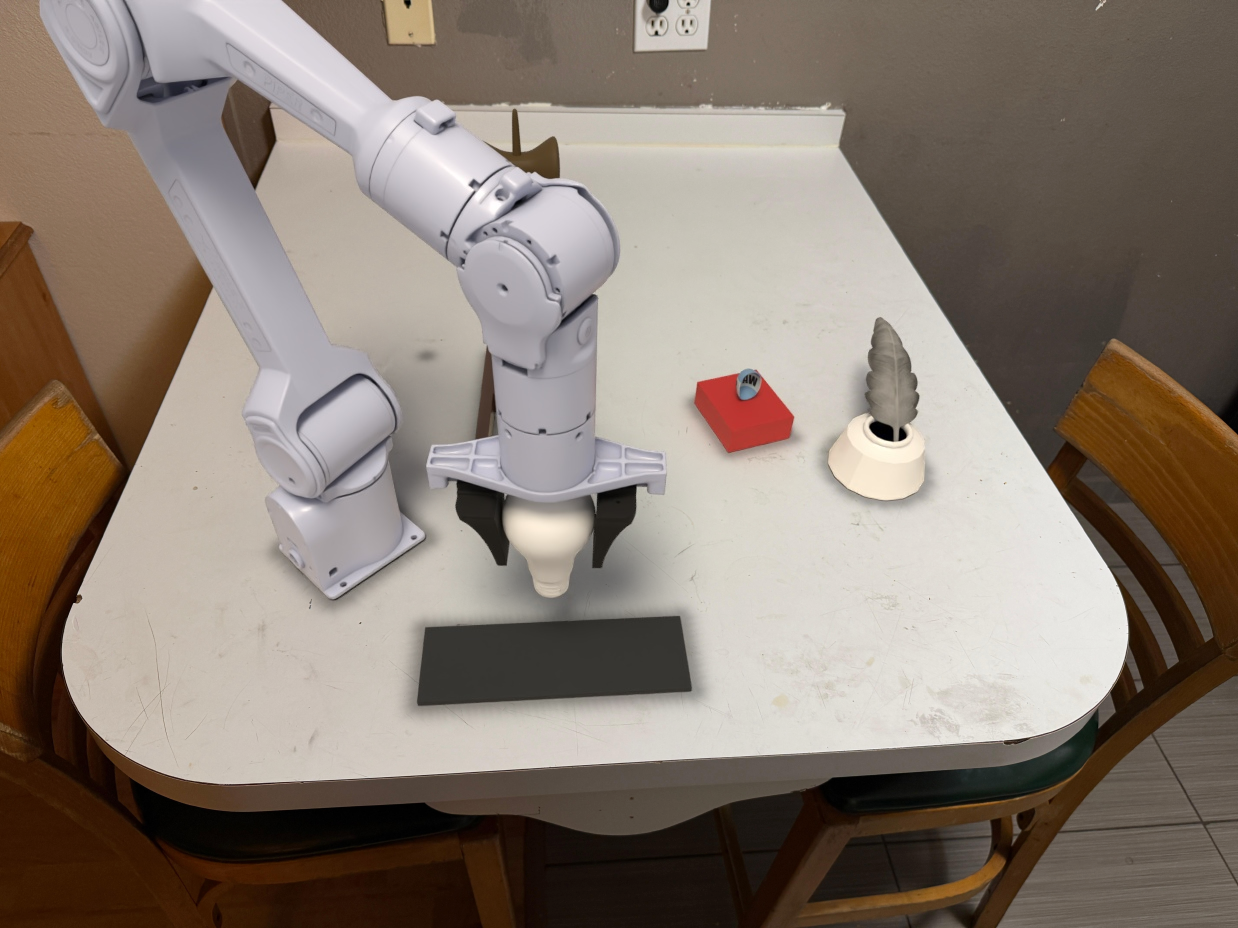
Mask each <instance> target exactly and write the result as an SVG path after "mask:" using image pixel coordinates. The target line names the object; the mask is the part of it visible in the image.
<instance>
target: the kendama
mask: <svg viewBox="0 0 1238 928" xmlns="http://www.w3.org/2000/svg"><path fill="white" fill-rule="evenodd" d="M481 140H482V141H483V142H485V143H486V144H487V145H489V146H490V147H491V148H493V149H494V150H495V151H496V152H498V153H499V154H500V155H502V156H503V157H504V158H505V159H507V160H508V161H509V162H511V163H512V164H513V165H514V166H516V167H519V168H520V169H521V170H523V171H524V172H525V173H527V172H530V173H531V174H532V173H534V172H536V173H537V174H539V175H540V176H542V177H543V178H546V179H555V178H561V159H560V158H561V157H560V149H559V143H558V140H557V138H556V136H553V135H552V136H550V137H548V138H547V139H545V140H544V141H542V142H541V143H540V144H538V145H537V146H536V147H534V148H532V149H530V150H527V151H522V146H521V132H520V120H519V113H518V109H517V108H513V109H512V111H511V149H512V151H506V150H503V149H500V148H498V147H496V146H494V145H493V144H490V143H489V142H487V141H485V140H483V139H481Z"/></svg>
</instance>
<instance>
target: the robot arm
mask: <svg viewBox="0 0 1238 928" xmlns="http://www.w3.org/2000/svg"><path fill="white" fill-rule="evenodd" d="M38 3H39V17H40V19H41V21H42V23H43V26H44V28H45V30H46V32H47V34H48V35H49V37H50V39H51V41H52V42H53V44H54V47H55V48H56V49H57V51H58V53H59V54H60V57H61V59H62V61H64V63H65V65H66V68H67V69H68V70H69V72H70V74H71V75H72V78H73V79H74V80H75V82H76V84H77V86H78V88H79V89H80V91H81V93H82V94H83V96H84V98H85V100H86V101H87V102H88V104H89V105H90V107H91V108H92V109H93V111H94V113H95V115H96V116H97V118H98V120H99V121H100V123H101V125H102V126H103V127H104V128H107V129H112V130H117V131H124V132H126V134H127V136H128V138H129V139H130V141H131V143H132V145H133V147H134V148H135V150H136V152H137V154H138V156H139V157H140V159H141V161H142V162H143V164H144V166H145V169H146V170H147V171H148V173H149V175H150V177H151V179H152V180H153V182H154V184H155V186H156V187H157V189H158V191H159V193H160V195H161V196H162V198H163V199H164V202H165V203H166V205H167V207H168V209H169V210H170V212H171V214H172V216H173V218H174V219H175V221H176V223H177V225H178V227H179V229H180V230H181V232H182V234H183V235H184V238H185V239H186V241H187V243H188V245H189V246H190V248H191V250H192V252H193V253H194V255H195V256H196V259H197V260H198V262H199V264H200V266H201V267H202V269H203V271H204V273H205V275H206V276H207V278H208V280H209V282H210V283H211V285H212V287H213V289H214V290H215V292H216V294H217V296H218V298H219V299H220V301H221V303H222V304H223V307H224V308H225V311H226V312H227V313H228V315H229V317H230V319H231V321H232V323H233V325H234V326H235V328H236V329H237V332H238V333H239V335H240V336H241V338H242V340H243V342H244V343H245V345H246V347H247V349H248V351H249V352H250V354H251V357H252V358H253V360H254V361H255V364H256V365H257V367H258V371H257V374H256V376H255V378H254V381H253V384H252V386H251V388H250V390H249V392H248V395H247V397H246V399H245V402H244V404H243V405H242V406H243V407H242V410H241V417H242V418H243V420H244V422H245V426H246V427H247V429H248V431H249V434H250V435H251V438H252V441H253V445H254V451H255V454H256V457H257V459H258V461H259V463H260V465H261V466H262V468H263V469H264V471H265V472H266V473H267V474H268V476H269V477H270V478H271V479H272V480H273V481H274V482H275V483H276V484H278V486H277V487H276V488H275V489H274V490H272V491H271V492H270V493H268V494H267V495H266V496H265V499H264V503H265V507H266V510H267V513H268V515H269V518H270V521H271V524H272V525H273V528H274V530H275V533H276V536H277V539H278V541H279V545H278V549H279V551H280V553H282V554H283V555H284V556H285V557H286V558H287V559H288V560H289V561H290V562H291V563H292V564H293V565H294V566H295V567H296V568H297V569H298V570H299V571H300V572H301V573H302V574H303V575H304V576H305V577H306V578H307V579H308V580H309V581H310V582H311V583H313V585H315V587H316V588H317V589H319V590H320V591H321V593H323V594H324V596H326V598H328V599H329V600H335V599H337V598H339V597H340V596H341V597H342V595H343V594H345V593H347V592H348V591H350V590H351V589H353V588H355V586H357V585H358V584H360V583H362V582H363V581H364V580H366V579H368V578H369V577H370V576H372V575H374V574H375V573H377V572H378V571H379V570H381V569H383V568H384V567H385V566H387V565H388V564H389V563H391V562H392V561H394V560H396V559H397V558H398V557H400V556H401V555H403V554H404V553H406V552H408V551H409V550H410V549H412V548H414V547H415V546H417V545H418V544H419V543H421V542H422V541H424V540H425V538H426V534H425V531H424V530H422V529H421V528H420V527H419V526H418V525H417V524H415V523H414V521H412V520H411V519H409V518H408V517H407V516H406V515H405V514H404V513H403V512H401V511H400V508H399V503H398V498H397V494H396V489H395V485H394V480H393V479H394V478H393V476H392V471H391V466H390V461H389V453H390V452H391V451H392V449H393V448H394V444H393V443H394V442H393V439H392V435H394V434H396V433H397V432H398V431H399V430H400V429H401V427H402V425H403V420H404V418H403V417H404V416H403V411H402V406H401V402H400V400H399V398H398V396H397V394H396V392H395V391H394V390H393V388H392V387H391V385H390V384H389V383H388V382H387V381H386V380H385V378H383V377H382V375H380V373H379V372H378V370H377V369H376V367H375V366H374V364H373V362H372V360H371V358H370V356H369V354H368V353H367V352H365V351H363V350H360V349H358V348H354V347H352V346H348V345H342V344H336V343H331V342H332V341H331V340H330V339H329V336H328V334H327V332H326V330H325V328H324V326H323V325H322V322H321V320H320V318H319V316H318V314H317V312H316V310H315V308H314V307H313V304H312V302H311V300H310V299H309V296H308V294H307V293H306V290H305V287H304V286H303V284H302V282H301V280H300V278H299V276H298V274H297V273H296V270H295V268H294V267H293V264H292V262H291V260H290V258H289V256H288V254H287V252H286V250H285V248H284V246H283V244H282V242H281V240H280V238H279V236H278V235H277V232H276V230H275V228H274V226H273V224H272V222H271V220H270V218H269V216H268V214H267V212H266V210H265V208H264V207H263V204H262V202H261V200H260V198H259V196H258V194H257V192H256V190H255V188H254V185H253V184H252V182H251V180H250V178H249V176H248V174H247V172H246V170H245V169H244V166H243V164H242V162H241V160H240V158H239V156H238V154H237V151H236V150H235V148H234V146H233V144H232V142H231V140H230V138H229V136H228V134H227V132H226V130H225V128H224V126H223V123H222V115H223V112H224V108H225V104H226V100H227V97H228V93H229V90H230V88H231V87H232V86H233V85H235V84H236V82H237V81H239V82H241V83H242V84H244V85H245V86H247V87H248V88H250V89H252V90H253V91H254V92H256V93H257V94H259V95H260V96H261V97H263V98H265V99H266V100H268V101H269V102H270V103H272V104H274V105H275V106H277V107H278V108H279V109H281V110H282V111H284V112H285V113H286V114H289V115H290V116H292V117H293V118H294V119H296V120H298V121H299V122H301V123H302V124H304V125H305V126H307V127H308V128H309V129H311V130H312V131H314V132H316V133H317V134H318V135H320V136H321V137H323V138H324V139H326V140H327V141H329V142H330V143H332V144H334V145H335V146H336V147H338V148H339V149H341V150H342V151H344V152H345V153H347V154H348V155H350V156H351V158H352V163H353V169H354V176H355V180H356V183H357V186H358V188H359V190H360V192H361V193H362V194H363V195H364V196H365V197H367V198H368V199H369V200H370V201H372V202H373V203H374V204H376V205H377V206H378V207H379V208H381V209H382V210H383V211H384V212H386V213H387V214H388V215H390V216H391V217H392V218H393V219H394V220H395V221H397V222H398V223H400V224H401V225H402V226H403V227H404V228H406V229H407V230H408V231H410V232H411V233H412V234H414V236H416V237H418V238H419V239H420V241H422V242H424V243H425V244H426V245H427V246H429V247H430V248H432V249H433V250H434V251H435V252H437V253H438V254H439V255H440V256H442V258H444V259H445V260H447V261H448V262H449V263H451V265H453V266H455V267H456V274H457V275H456V276H457V279H458V282H459V285H460V289H461V291H462V292H463V295H464V297H465V299H466V301H467V303H468V304H469V306H470V307H471V309H472V310H473V311H474V313H475V315H476V316H477V318H478V321H479V323H480V326H481V333H482V342H483V344H485V345H486V347H487V346H488V350H489V352H490V353H491V356H492V367H493V378H494V390H495V401H496V412H495V414H496V423H497V432H498V434H497V435H492V437H487V438H482V439H477V440H475V439H473V440H468V441H462V442H456V443H447V444H430V449H429V452H428V456H427V460H426V464H425V468H426V469H425V470H426V475H427V480H428V486H429V488H430V489H440V490H441V489H442V490H444V489H446V488H448V486H449V482H454V483H456V484H455V485H456V499H455V504H454V509H455V512H456V515H457V518H458V520H459V521H461V522H463V523H464V524H466V525H467V526H469V527H470V528H471V529H472V530H474V531H475V532H476V533H477V535H478V536H479V537H480V538H481V539H482V540H483V542H484V544H485V545H486V546H487V548H488V550H489V551H490V553H491V555H492V557H493V559H494V561H495V564H496V566H498V567H507V566H508V561H509V560H508V558H509V552H510V544H511V543H510V541H509V540H508V538H507V536H506V534H505V532H504V528H503V524H502V508H503V504H504V501H505V498H506V496H505V495H507V494H509V495H512V496H515V497H519V498H522V499H525V500H529V501H533V502H539V503H554V502H560V501H565V500H570V499H574V498H578V497H582V496H587V495H591V496H592V495H595V494H596V507H595V511H596V521H595V527H594V529H593V532H592V554H591V558H592V559H591V568H592V569H602V568H603V565H604V561H605V558H606V556H607V554H608V552H609V551H610V548H611V547H612V545H613V543H614V542H615V540H616V539H617V538H618V536H619V535H620V534H621V533H622V532H623V531H624V530H625V529H626V528H628V527H629V526H631V525H632V524H633V521H634V519H635V517H636V514H637V508H638V507H637V494H638V493H637V492H638V488H646V492H647V494H649V495H658V496H664V495H665V494H666V488H667V487H666V485H667V476H668V468H667V466H668V465H667V451H665V450H664V451H663V450H652V449H651V450H650V449H644V448H641V447H635V446H631V445H628V444H624V443H620V442H617V441H613V440H610V439H606V438H603V437H599V436H596V417H597V416H596V411H597V409H596V408H597V367H598V325H599V324H598V321H599V296H598V295H597V294H595V292H596V291H597V290H599V289H600V288H601V287H602V286H604V285H605V283H606V282H607V281H608V279H609V278H610V277H611V276H612V275H613V274H614V273H615V271H616V269H617V267H618V265H619V262H620V256H621V241H620V240H621V239H620V235H619V232H618V228H617V225H616V223H615V221H614V219H613V217H612V215H611V214H610V212H609V210H608V209H607V208H606V206H605V205H604V204H603V203H602V202H601V200H599V198H597V197H596V196H595V195H594V194H593V193H592V192H591V190H590V189H589V188H588V187H587V186H586V185H585V184H584V183H581V182H579V181H577V180H574V179H570V178H565V177H560V178H555V179H546V178H543V177H542V176H540V175H539V174H537V173H536V172H534V173H532V174H531V173H530V172H527V173H525V172H524V171H523V170H521V169H520V168H519V167H516V166H514V165H513V164H512V163H511V162H509V161H508V160H507V159H505V158H504V157H503V156H502V155H500V154H499V153H498V152H496V151H495V150H494V149H493V148H491V147H490V146H489V145H487V144H486V143H485V142H486V141H485V142H483V141H484V140H483V139H481V138H479V136H477V135H476V134H474V133H473V132H472V131H470V129H468V128H467V127H465V126H464V125H463V124H461V122H459V121H458V120H457V119H456V118H457V114H456V112H455V111H454V110H452V109H451V108H450V107H449V106H447V104H445V103H443V102H442V101H441V100H440V99H434V100H431V99H430V98H428V97H425V96H421V95H414V96H413V95H412V96H407V97H403V98H400V99H397V100H395V99H391V97H390V96H388V95H387V94H386V93H385V92H384V91H383V90H381V88H379V87H378V85H376V84H375V83H374V82H373V81H372V80H371V79H370V78H369V77H367V76H366V75H365V74H364V73H363V72H362V71H361V70H360V69H359V68H357V67H356V66H355V65H354V64H353V63H352V62H351V61H349V59H348V58H346V56H344V55H343V54H342V53H341V52H339V50H337V49H336V48H335V47H334V46H333V45H332V44H331V43H330V42H329V41H327V40H326V39H325V38H324V37H323V36H322V35H321V34H320V33H319V32H317V31H316V30H315V29H314V28H313V27H312V25H310V24H309V23H307V22H306V21H305V20H304V19H303V18H302V17H301V16H300V15H299V14H297V12H295V11H294V10H293V9H292V8H291V6H289V5H287V3H285V1H283V0H39V2H38ZM482 140H483V141H482Z"/></svg>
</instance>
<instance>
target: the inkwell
mask: <svg viewBox="0 0 1238 928" xmlns="http://www.w3.org/2000/svg"><path fill="white" fill-rule="evenodd" d="M872 331H873V333H872V335H871V339H870V346H871V348H870V349H869V350H868V353H867V364H868V366H869V368H870V369H871V371H868V372H867V373H866V376H865V384H866V385H867V388H868V389H869V390H867V391H865V392H864V398H865V400H866V402H867V404H868V405H869V407H870V408H867V411H868V412H865V413H862V414H860V415H858V416H856V417H853V418H852V420H851V421H850V422H849V423H848V425H847V426H846V427H845V428H844V430H843V431H842V432H841V434H840V435H839V437H838V438H837V439H836V440H835V442H834V443H833V445H832V446H831V448H830V449H829V450H828V459H827V464H828V466H829V468H830V470H831V473H832V474H833V476H834V478H835V479H836V480H837V481H838V482H840V483H841V484H842V485H843V486H844V487H845V488H847V490H848V491H849V490H850V491H852V492H853V493H856V494H857V495H858V494H859V495H860V496H863V497H864V498H869V499H874V500H878V501H879V500H880V501H894V500H903V499H905V498H908V497H909V496H911V495H913V494H916V493H917V492H918V491H919V490H920V488H921V486H922V485H923V483H924V482H925V468H926V467H925V465H926V446H925V443H926V442H925V438H924V436H923V435H922V433H921V431H920V429H918V427H916V426H914V424H912V422H913V421H914V420H915V419H916V418H917V416H918V413H919V410H918V409H917V407H918V405H919V402H920V393H919V392H918V391H916V390H917V388H918V383H919V381H918V377H917V375H916V373H915V372H912V361H911V357H910V355H909V353H908V351H907V350H906V348H905V347H904V345H903V341H902V339H901V337H900V336H899V334H898V333H897V331H896V330H895V329H894V327H893V325H891V323H890V322H889V321H887V320H886V319H884V318H883V317H882V316H878V317H877V318H875V321H874V325H873V330H872Z"/></svg>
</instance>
